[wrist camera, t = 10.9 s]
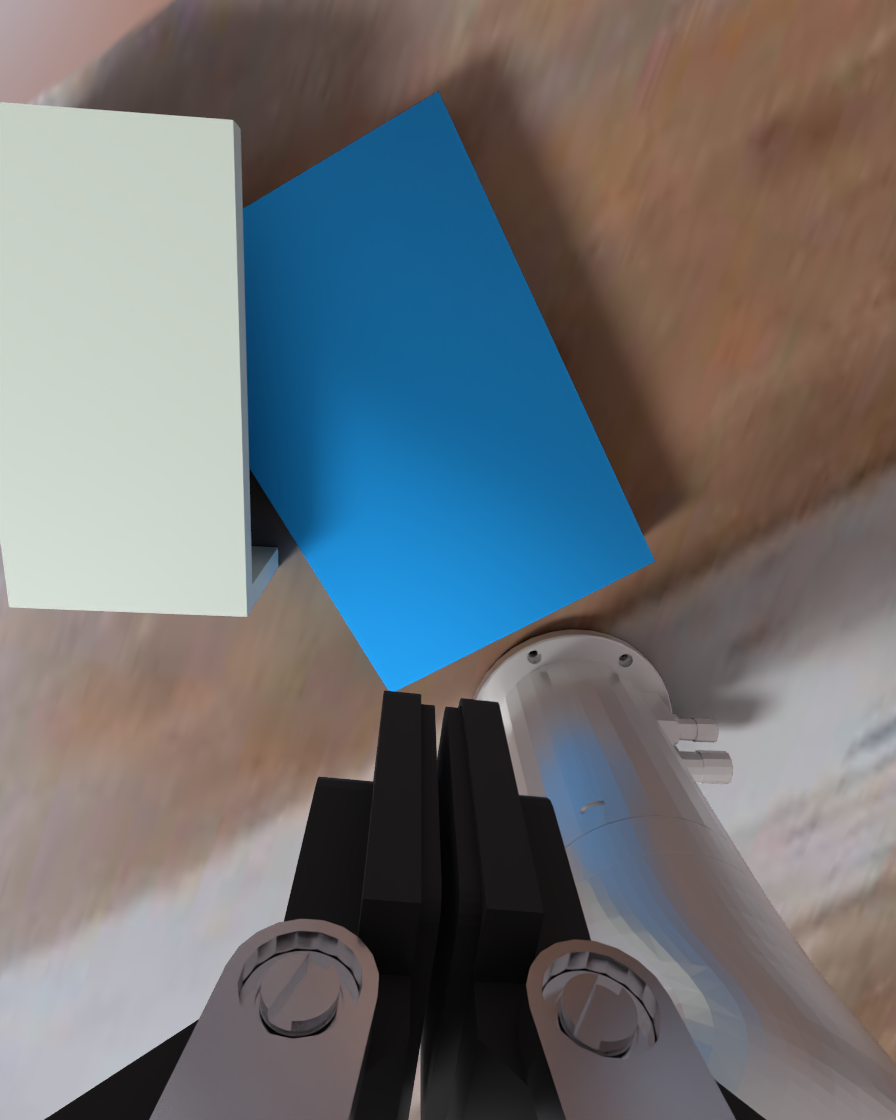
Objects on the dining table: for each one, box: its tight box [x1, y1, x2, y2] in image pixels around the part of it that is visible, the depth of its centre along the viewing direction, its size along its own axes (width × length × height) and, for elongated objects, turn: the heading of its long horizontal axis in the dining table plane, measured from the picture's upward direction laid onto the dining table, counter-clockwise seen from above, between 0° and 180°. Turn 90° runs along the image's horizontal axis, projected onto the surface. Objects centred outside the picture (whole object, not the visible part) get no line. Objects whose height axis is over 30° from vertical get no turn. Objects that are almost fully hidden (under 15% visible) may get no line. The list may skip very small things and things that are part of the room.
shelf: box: [0, 102, 278, 617], centre depth 34 cm, size 11×21×8 cm, turn 177°
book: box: [243, 91, 655, 692], centre depth 37 cm, size 17×4×25 cm
